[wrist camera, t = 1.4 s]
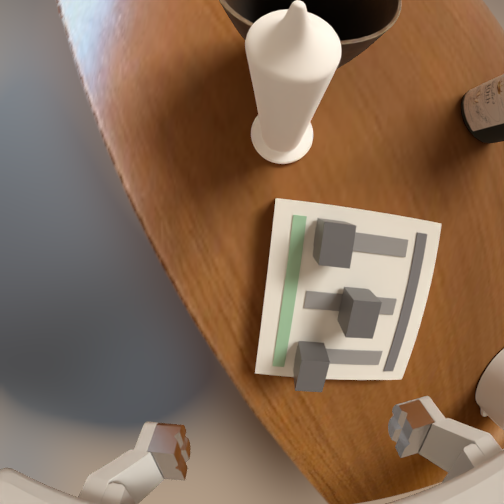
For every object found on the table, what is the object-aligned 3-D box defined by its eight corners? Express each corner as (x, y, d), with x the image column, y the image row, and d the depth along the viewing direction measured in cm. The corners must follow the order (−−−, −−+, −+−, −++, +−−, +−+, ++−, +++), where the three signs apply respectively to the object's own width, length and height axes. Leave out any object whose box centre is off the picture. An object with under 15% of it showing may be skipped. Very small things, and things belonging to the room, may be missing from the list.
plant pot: (219, 88, 31) (182, 20, 16) (257, 1, 29) (247, -79, 13) (340, 125, 31) (388, 75, 16) (365, 33, 28) (406, -37, 13)
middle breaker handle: (368, 289, 31) (381, 302, 27) (361, 321, 32) (372, 338, 28) (343, 286, 31) (353, 300, 27) (337, 320, 32) (345, 337, 28)
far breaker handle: (323, 342, 33) (329, 362, 28) (317, 370, 33) (321, 391, 29) (298, 340, 33) (301, 360, 28) (293, 369, 34) (295, 390, 29)
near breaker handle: (345, 221, 30) (356, 225, 26) (339, 258, 31) (349, 268, 26) (317, 217, 30) (324, 221, 26) (312, 255, 31) (318, 265, 27)
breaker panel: (429, 221, 32) (442, 223, 29) (394, 368, 36) (402, 380, 33) (275, 198, 33) (275, 198, 30) (256, 361, 37) (254, 374, 34)
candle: (306, 169, 33) (388, 106, 8) (245, 157, 33) (179, 68, 8) (316, 113, 31) (390, -26, 7) (257, 101, 32) (225, -54, 7)
